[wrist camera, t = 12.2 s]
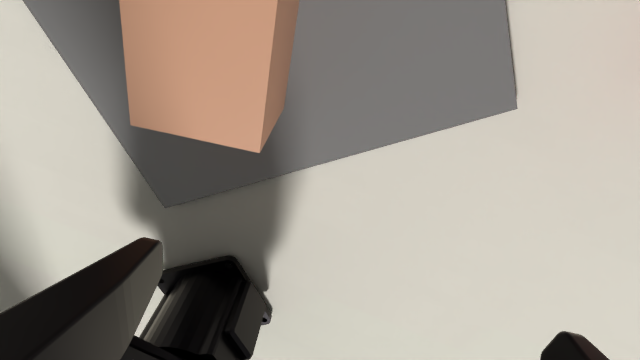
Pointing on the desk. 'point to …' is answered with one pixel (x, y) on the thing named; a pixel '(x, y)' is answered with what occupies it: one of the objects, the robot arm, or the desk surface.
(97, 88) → the grey mat
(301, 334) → the desk surface
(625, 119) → the desk surface
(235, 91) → the peach block
